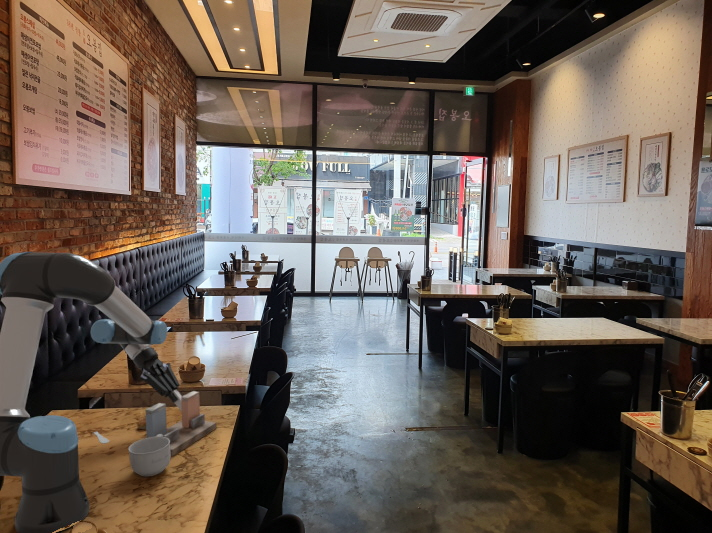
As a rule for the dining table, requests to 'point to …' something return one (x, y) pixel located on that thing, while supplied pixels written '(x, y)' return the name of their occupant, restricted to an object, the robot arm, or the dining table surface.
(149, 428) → the grey rectangular block
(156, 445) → the teacup
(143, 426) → the pastry
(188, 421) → the pink upright block
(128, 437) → the dining table surface
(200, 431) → the taupe stand
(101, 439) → the butter knife
